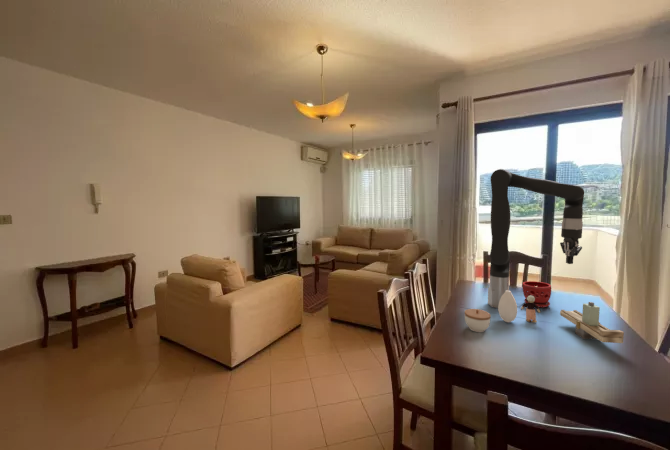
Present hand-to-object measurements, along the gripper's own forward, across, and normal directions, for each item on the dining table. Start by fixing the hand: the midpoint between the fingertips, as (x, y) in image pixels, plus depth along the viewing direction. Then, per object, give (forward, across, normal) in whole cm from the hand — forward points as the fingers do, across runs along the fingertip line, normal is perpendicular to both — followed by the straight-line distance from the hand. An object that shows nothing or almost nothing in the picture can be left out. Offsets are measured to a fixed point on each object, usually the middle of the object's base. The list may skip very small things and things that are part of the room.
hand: (569, 263), depth 135 cm
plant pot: (+28, -20, -4) cm, 35 cm away
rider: (+22, +18, -1) cm, 29 cm away
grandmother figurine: (+28, +4, -17) cm, 34 cm away
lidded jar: (+29, +16, -45) cm, 56 cm away
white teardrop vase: (+29, +6, -28) cm, 41 cm away
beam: (+28, +17, -1) cm, 33 cm away
